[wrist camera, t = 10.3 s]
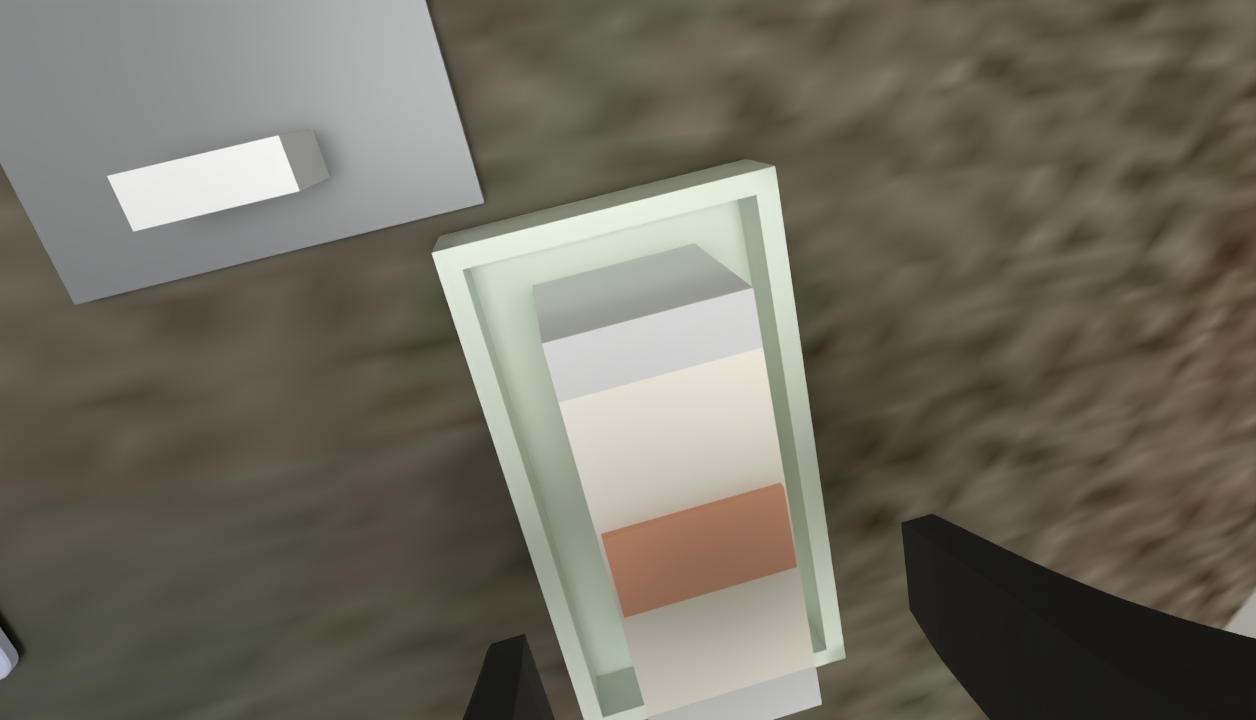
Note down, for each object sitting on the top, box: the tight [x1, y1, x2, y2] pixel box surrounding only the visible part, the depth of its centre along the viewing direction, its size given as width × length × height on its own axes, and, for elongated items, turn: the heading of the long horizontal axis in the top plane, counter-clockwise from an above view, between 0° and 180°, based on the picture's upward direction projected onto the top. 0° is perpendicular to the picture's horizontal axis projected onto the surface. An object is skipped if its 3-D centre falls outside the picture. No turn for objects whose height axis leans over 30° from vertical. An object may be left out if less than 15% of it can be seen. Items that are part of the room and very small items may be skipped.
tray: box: [432, 159, 846, 720], centre depth 19 cm, size 8×14×2 cm, turn 13°
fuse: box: [533, 243, 822, 720], centre depth 17 cm, size 4×10×5 cm, turn 13°
